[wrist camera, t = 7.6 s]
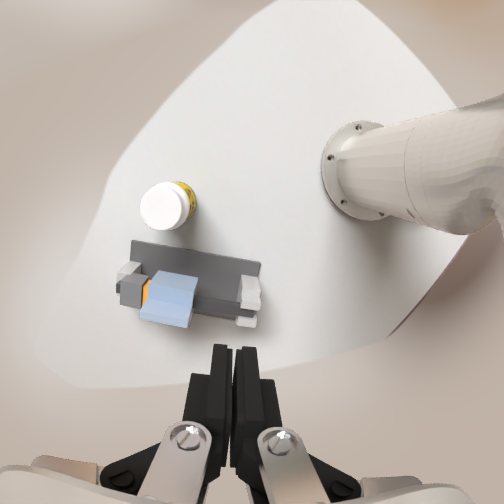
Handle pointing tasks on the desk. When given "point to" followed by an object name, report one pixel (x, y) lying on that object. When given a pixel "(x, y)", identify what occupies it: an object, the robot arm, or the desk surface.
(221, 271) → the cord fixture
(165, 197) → the supplement bottle
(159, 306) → the light blue step block
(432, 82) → the desk surface
